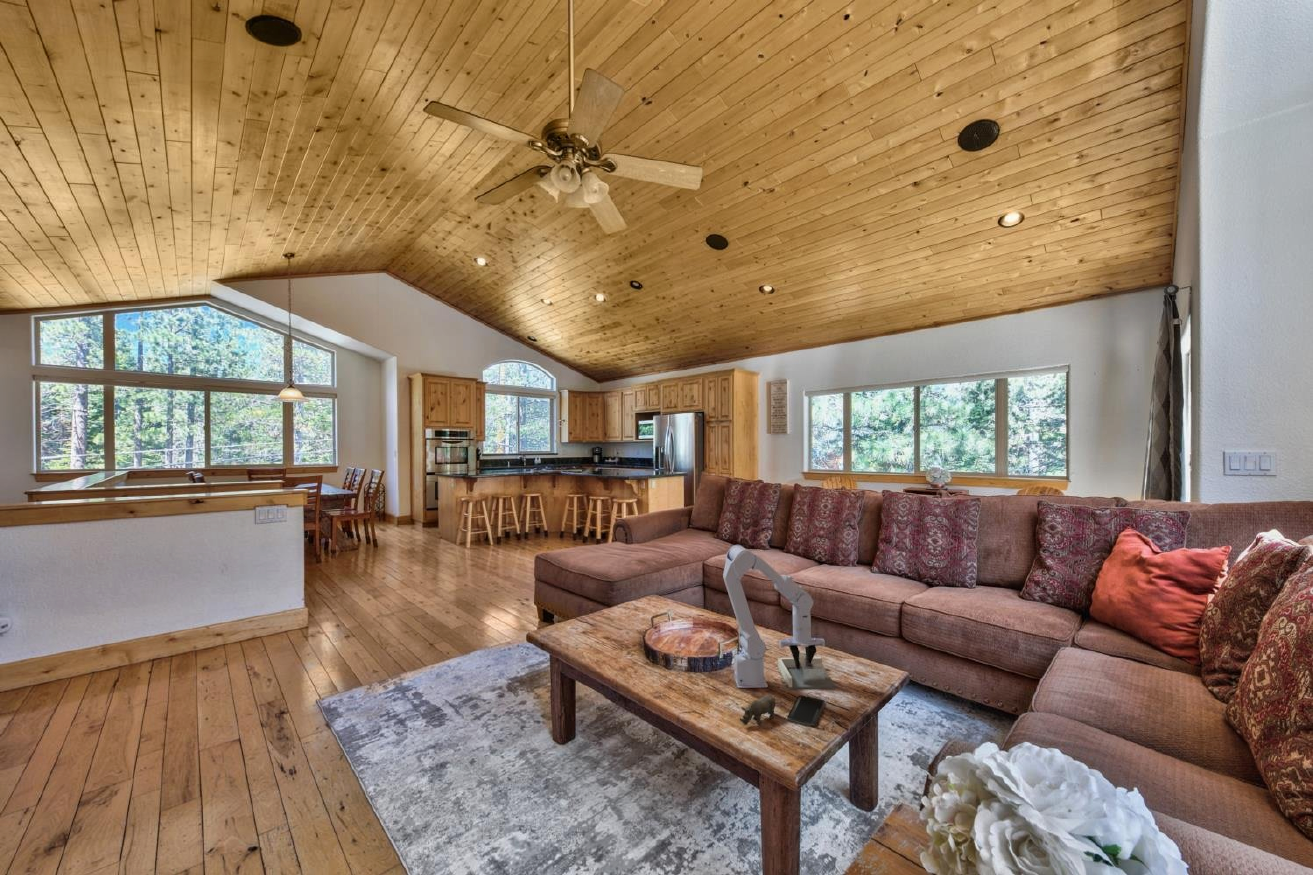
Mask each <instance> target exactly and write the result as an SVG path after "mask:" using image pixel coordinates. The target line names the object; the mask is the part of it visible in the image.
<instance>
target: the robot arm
mask: <svg viewBox="0 0 1313 875" xmlns="http://www.w3.org/2000/svg"><path fill="white" fill-rule="evenodd" d="M751 569H752V570H753V571H754V570H759V572H761V573H762V574H763V575H765V576H766V578H768V579H769V580H770V581H772V582H773V586H774V589H775V590H776V591H777V592H779V594H781V595H782V596H783V597H784V598H785V599H787V600H788V601H789V602H790V603H791V604H792V637H788V638H783V639H781V638H780V639H779V641H778V642H779V647H780V648H785V647H786V648H787V647H788V648H789V649H790V652H791V654H792V658H794V661H795V666H796V668H797V669H799V654H801V653H800V652H801V651H800V649H799V647H802V648H805V656H806V657H807V659H808V661H809V663H810V664H811V662H812V659H813V657H815V654H816V653H817V648H816V647H823V648H824V647H826V641H825V639H824V638H819V637H817V638H816V637H812V632H811V631H812V626H811V624H812V622H811V621H812V619H811V609H812V607H813V606H814V600H813V598H812V596H811V594H810V593H808V592H807V591H805V590H804V588H803V586H802V585H798V583H797V582H795V581H794V580H793V579H794V578H793V577H792V576H791V575H787V574H780V573H778V571H776V570H775V569H774V568H773V567H772V566H771V565H770V564H768V563H767V562H766V561H765V560H764V559H763V558H762V557H760V556H759V555H757V554H755V553H754V552H752V551H751V550H748V549H747V548H745V547H744V546H742V545H740V544H735V545H733V546H731V547H730V548H729V550H728V551H727V552H726V554H725V563H724V569H723V573H722V577H723V581H724V584H725V588H726V591H727V593H728V597H729V600H730V603H731V607H732V609H733V612H734V615H735V619H736V622H737V625H738V628H737V630H738V636H739V637H738V643H739V644H740V646H741V651H740V653H739V654H734V657H733V658H734V659H733V663H734V664H733V665H734V666H733V668H734V672H733V673H734V674H733V675H734V676H733V677H734V680H735V684H736V687H737V688H739V689H749V688H750V689H751V688H752V689H754V688H768V683H767V681H766V679H765V658H764V656H765V654H766V651H767V645H766V643H765V642H764V641H763V639H761V637H760V636H761V635H760V633H759V632H758V630H757V628H756V625H755V623H754V620H753V616H752V614H751V610H750V608H749V604H748V601H747V598H746V595H745V591H744V589H743V585H742V582H741V579H742V578H743V576H744V575H745V574H746V573H747V572H748V571H750V570H751Z"/></svg>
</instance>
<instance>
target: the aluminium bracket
mask: <svg viewBox="0 0 1313 875" xmlns="http://www.w3.org/2000/svg"><path fill="white" fill-rule="evenodd" d="M795 668H796V666H795ZM796 670H797V672H798V674H799V676H800V678H801V680H802V683H803V684H819V683H825V671H826V667H825V666H824V664H823V662H822V663H818V664H810V663H809V661H808V659H807V657H806V653H799V669H797V668H796Z"/></svg>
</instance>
